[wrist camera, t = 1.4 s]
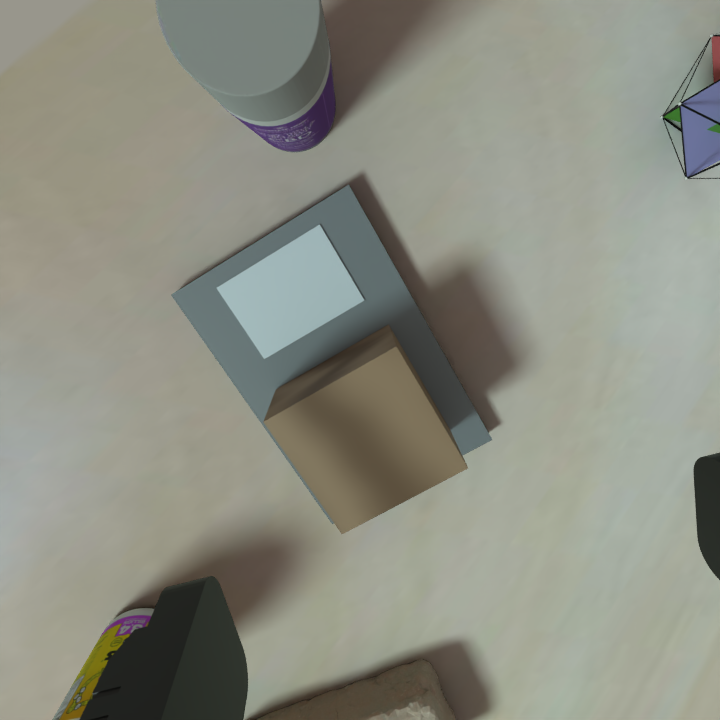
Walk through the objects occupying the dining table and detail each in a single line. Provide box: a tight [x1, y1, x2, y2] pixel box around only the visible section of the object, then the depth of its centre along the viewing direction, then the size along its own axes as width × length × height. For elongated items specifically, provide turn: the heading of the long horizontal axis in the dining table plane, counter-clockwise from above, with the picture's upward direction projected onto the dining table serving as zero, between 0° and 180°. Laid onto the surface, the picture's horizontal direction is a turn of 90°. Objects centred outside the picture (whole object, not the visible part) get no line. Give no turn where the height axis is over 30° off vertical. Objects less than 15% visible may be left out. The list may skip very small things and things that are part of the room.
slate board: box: [172, 185, 492, 524], centre depth 32 cm, size 12×18×1 cm, turn 30°
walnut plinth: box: [263, 324, 468, 534], centre depth 30 cm, size 8×8×5 cm
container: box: [156, 0, 336, 152], centre depth 21 cm, size 5×5×15 cm
